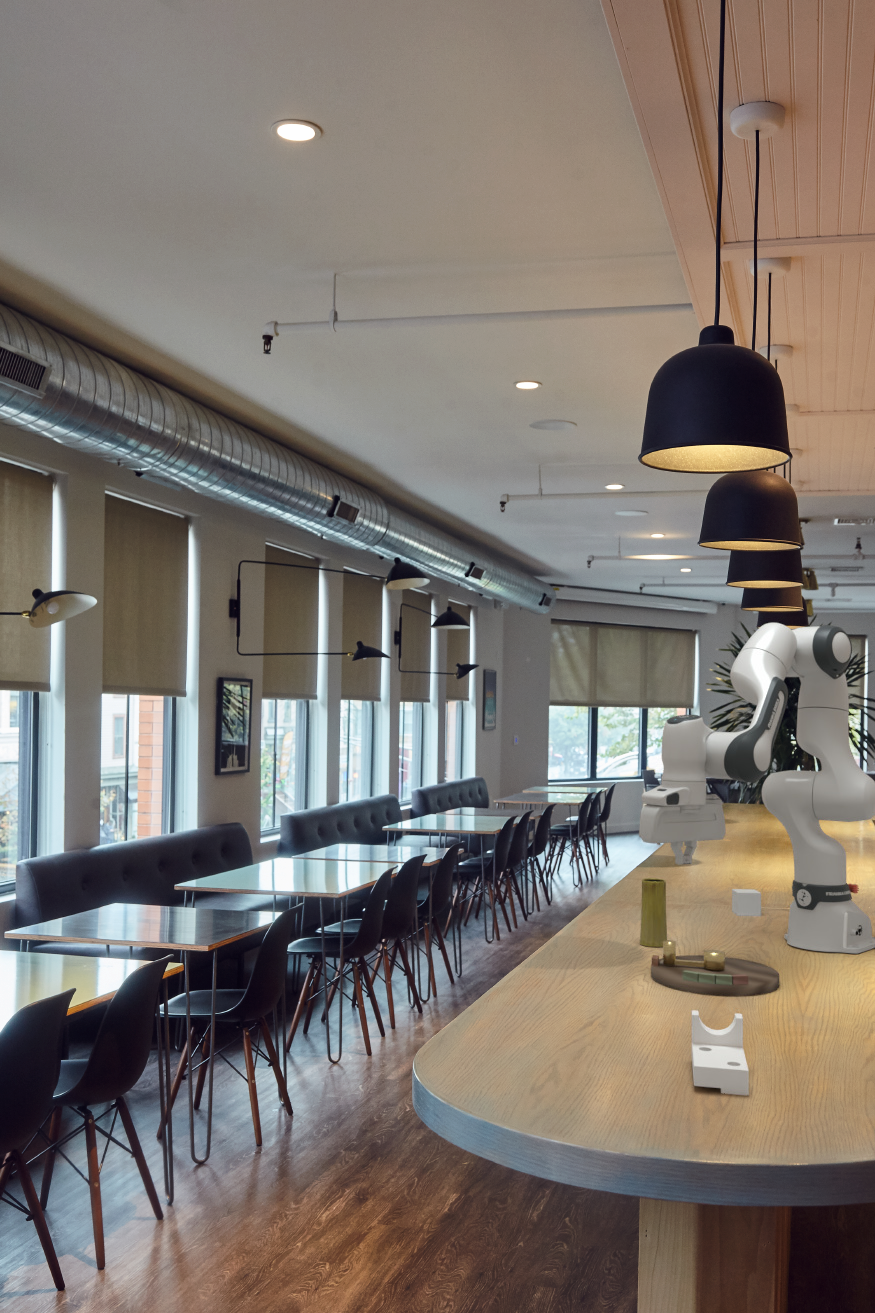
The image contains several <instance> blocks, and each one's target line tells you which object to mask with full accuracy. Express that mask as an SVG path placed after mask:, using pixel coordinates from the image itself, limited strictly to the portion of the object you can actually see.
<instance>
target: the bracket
mask: <svg viewBox="0 0 875 1313" xmlns="http://www.w3.org/2000/svg"><path fill="white" fill-rule="evenodd" d="M699 1014H700V1013H699V1010H695V1009H693V1010H691V1063H692V1064H691V1066H692V1078H693V1086H694V1087H702V1088H703V1087H704V1088H716V1089H720V1093H721V1094H724V1093H725V1095H737V1096H747V1095H748V1096H749V1093H750V1092H749V1089H750V1087H749V1086H750V1085H749V1083H750V1082H749V1079H750V1078H749V1075H750V1074H749V1073H750V1072H749V1066H748V1063H747V1058H746V1055H745V1050H744V1031H743V1030H744V1028H743V1027H744V1017H743V1014H742V1013H738V1012H737V1013H734V1018H733V1021H732V1022H731V1023H730V1024H729V1026H727V1027H725V1028H723V1029H713V1028H711V1027H708V1026H706V1024H705V1023H703V1021H702V1020H701V1017H700V1015H699Z"/></svg>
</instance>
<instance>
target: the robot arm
mask: <svg viewBox="0 0 875 1313" xmlns="http://www.w3.org/2000/svg"><path fill="white" fill-rule="evenodd" d="M852 654H853V646H852V640H851V638H850V636H849V635H848V633H847V632H846V631H845V630H844V629H843V628H842V627H840V626H837V625H831V624H830V625H827V624H825V625H820V626H818V625H817V626H802V627H796V628H794V629H791V628H790V627H788V626H787V625H785V624H782V623H779V622H768V623H764V624H763V625H761V626H760V627H759V628H758V629H757V630H756V631H754V633H753V634H752V635H751V636H750V638H749V639H748V640H747V641H746V643H745V644H744V645H743V647H742V648H741V650H740V651H739V653H738V655H737V656H736V658H735V660H734V661H733V663H732V666H731V669H730V675H729V677H730V683H731V685H732V687H733V689H734V691H735V692H736V693H737V694H738V695H739V696H740V697H741V698H742V699H744V701H747V702H748V703H750V704H753V705H755V706H756V708H755V710H754V713H753V716H752V718H751V722H750V724H749V727H748V728H745V729H743V730H741V731H736V732H734V731H733V732H732V731H730V732H729V731H715V730H714V729H712V728H710V727H709V726H707V725H706V724H705V722H704V719H703V716H700V715H698V714H683V715H675V716H672V717H669V718H668V719H667V720H666V721H665V724H664V725H663V730H662V737H661V761H662V765H663V770H662V771H663V772H662V775H661V784H660V785H657V786H656V787H654V788H652V789H650V790H648V791H645V792H643V793H642V794H641V803H642V804H644V805H643V806H642V808H641V810H640V817H639V837H640V838H641V840H642V842H643V843H646V844H647V843H648V844H668V843H669V844H670V848H671V850H672V852H673V855H674V857H675V858H674V862H675V865H679V866H680V865H681V866H682V865H691V864H692V863H693V856H694V853H695V851H696V850H697V846H698V844H697V843H698V842H700V841H717V840H723V839H724V837H725V836H726V818H725V813H724V809H723V800H722V799H721V798H720V796H718V795H717V794H715V793H711V794H707V778H714V779H719V780H720V779H721V780H733V781H738V782H743V783H749V784H751V783H755V782H759V780H761V778H763V777H764V775H766V773H767V772H768V771H769V768H770V766H771V764H772V757H773V748H774V744H775V741H776V739H777V735H778V733H779V729H780V727H781V723H782V720H783V717H784V714H785V711H786V707H787V704H788V699H789V697H788V696H789V691H788V686H787V684H786V683H785V679H786V678H799V681H800V686H799V687H800V688H799V693H798V694H799V695H798V700H797V701H798V702H797V719H796V720H797V721H796V738H795V739H796V742H797V744H798V746H799V748H801V750H803V751H804V752H806V753H808V754H809V755H811V756H813V757H815V758H817V759H818V760H819V761H820V766H821V770H799V769H798V770H795V769H794V770H793V769H792V770H791V769H790V770H783V771H777V772H771V773H770V774H769V775H768V776H767V777H766V779H765V780H764V781H763V784H762V787H761V798H762V803H763V804H764V806H765V808H766V809H767V811H768V812H769V813H770V814H772V815H773V816H774V817H775V818H776V819H777V820H778V821H779V822H780V823H781V825H782V826H783V827H784V829H785V830H786V832H787V834H788V837H789V839H790V843H791V847H792V853H793V867H794V868H793V869H794V876H793V877H794V879H793V880H792V882H791V883H792V884H791V885H792V886H791V890H792V891H791V892H792V893H791V895H792V897H793V901H792V902H791V903H790V906H789V912H788V913H789V914H788V923H787V924H788V928H787V933H784V940H785V941H786V943H787V944H788V945H789V946H792V947H795V948H798V949H802V950H803V949H804V950H809V951H816V952H826V953H843V954H844V953H845V954H860V953H863V952H867V951H870V950H873V949H875V937H874V936H873V930H872V920H871V918H870V916H869V915H867V913H865V912H864V911H863V910H862V908H860V907H859V906H858V905H857V904H856V902H854V901H853V900H852V899H853V898H852V897H853V895H852V893H853V894H858V892H859V889H860V888H859V885H858V884H856V883H855V884H852V883H847V853H846V849H845V848H844V846H843V845H842V843H840V842H839V841H838V840H837V839H835V838H833V837H832V836H830V835H828V834H826V833H825V832H824V830H823V829H822V827H821V823H820V821H829V822H831V821H832V822H844V823H853V822H861V821H868V820H871V819H872V818H874V816H875V780H874V779H873V778H872V777H871V776H869V775H868V774H867V773H865V771H864V770H862V768H861V766H859V765H858V763H857V761H856V759H854V758H855V757H854V756H853V753H852V750H851V746H850V735H849V718H850V717H849V715H850V707H849V705H850V704H849V703H850V702H849V690H848V682H847V677H846V673H845V672H846V669H847V667H848V665H850V664H849V663H850V662H851V660H852V659H851V658H852ZM684 846H685V849H684V852H683V850H682V848H684Z"/></svg>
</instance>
